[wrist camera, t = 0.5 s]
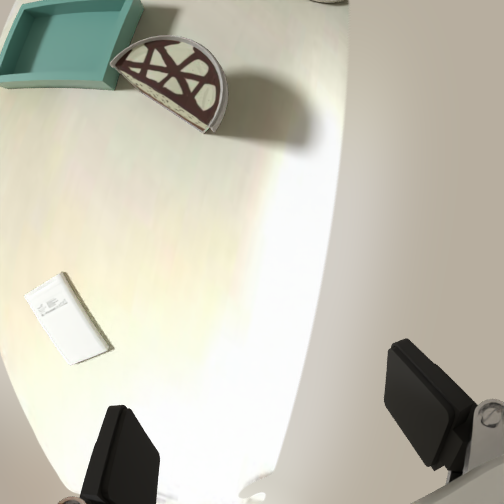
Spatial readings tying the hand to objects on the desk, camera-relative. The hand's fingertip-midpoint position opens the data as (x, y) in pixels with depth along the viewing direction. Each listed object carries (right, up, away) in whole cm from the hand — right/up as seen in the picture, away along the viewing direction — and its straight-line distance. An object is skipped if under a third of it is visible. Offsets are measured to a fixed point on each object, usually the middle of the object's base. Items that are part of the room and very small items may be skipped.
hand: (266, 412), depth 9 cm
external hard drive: (-27, -4, +28) cm, 39 cm away
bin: (-24, +32, +17) cm, 44 cm away
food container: (-8, +24, +22) cm, 33 cm away
